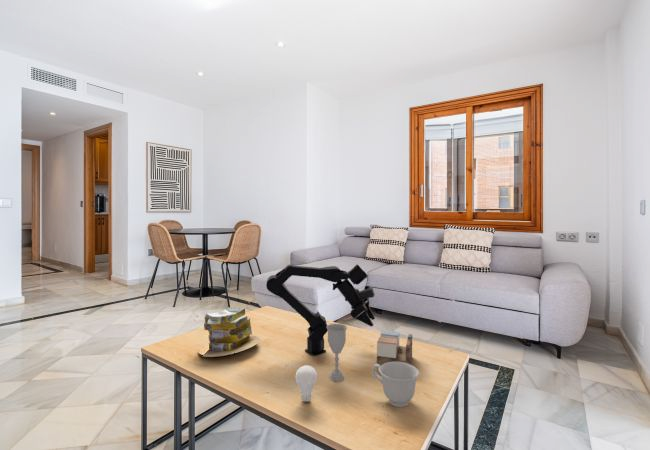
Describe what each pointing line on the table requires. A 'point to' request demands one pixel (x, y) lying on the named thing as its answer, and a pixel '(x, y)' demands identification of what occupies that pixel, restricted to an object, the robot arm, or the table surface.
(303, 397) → the light bulb
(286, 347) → the table surface
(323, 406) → the table surface
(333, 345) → the chalice
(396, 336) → the slate key
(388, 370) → the teacup
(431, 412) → the table surface
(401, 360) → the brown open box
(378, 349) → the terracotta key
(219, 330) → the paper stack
